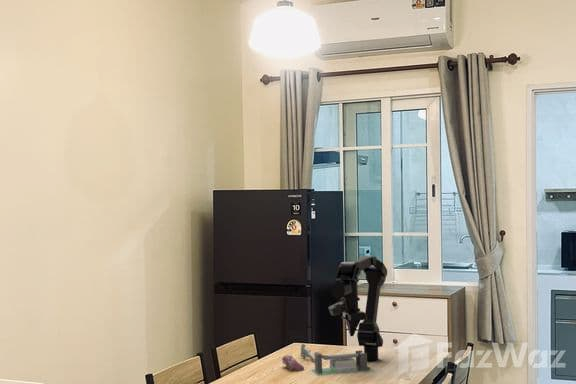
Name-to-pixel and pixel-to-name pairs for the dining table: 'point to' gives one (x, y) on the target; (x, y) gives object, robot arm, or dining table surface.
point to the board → (328, 371)
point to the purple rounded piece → (292, 363)
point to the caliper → (306, 353)
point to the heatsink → (343, 365)
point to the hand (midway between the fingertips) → (351, 336)
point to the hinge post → (362, 361)
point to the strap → (341, 356)
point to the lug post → (318, 362)
